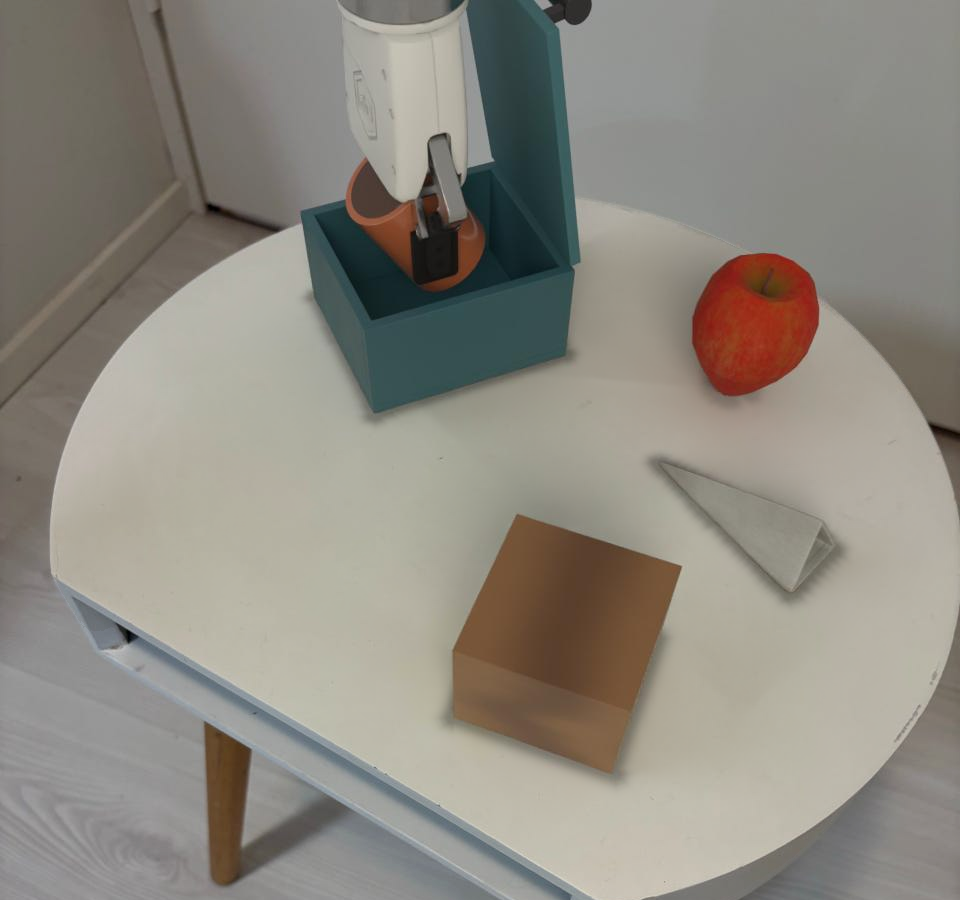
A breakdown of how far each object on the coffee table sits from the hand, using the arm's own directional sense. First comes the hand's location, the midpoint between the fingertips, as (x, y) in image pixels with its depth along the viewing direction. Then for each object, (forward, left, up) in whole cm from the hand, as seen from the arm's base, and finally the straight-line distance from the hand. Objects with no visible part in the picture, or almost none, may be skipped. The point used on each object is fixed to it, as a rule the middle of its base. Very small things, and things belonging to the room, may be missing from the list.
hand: (416, 244), depth 71 cm
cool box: (+1, +1, -8) cm, 8 cm away
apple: (+24, +3, -8) cm, 25 cm away
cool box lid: (+5, +5, +8) cm, 11 cm away
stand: (+20, -25, -8) cm, 33 cm away
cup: (+2, +2, -1) cm, 3 cm away
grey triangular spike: (+27, -10, -8) cm, 30 cm away
